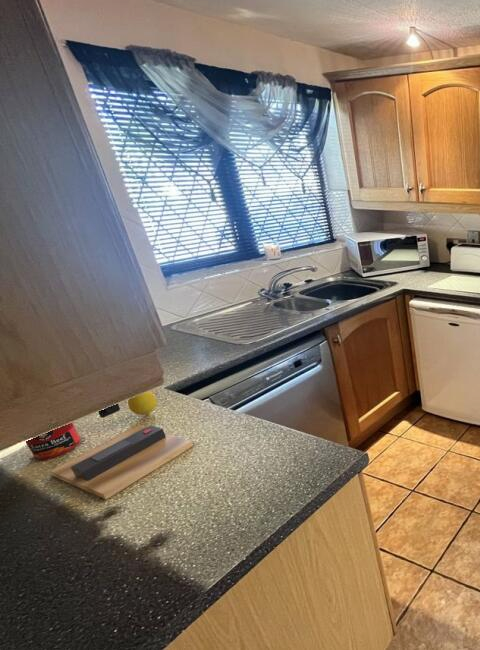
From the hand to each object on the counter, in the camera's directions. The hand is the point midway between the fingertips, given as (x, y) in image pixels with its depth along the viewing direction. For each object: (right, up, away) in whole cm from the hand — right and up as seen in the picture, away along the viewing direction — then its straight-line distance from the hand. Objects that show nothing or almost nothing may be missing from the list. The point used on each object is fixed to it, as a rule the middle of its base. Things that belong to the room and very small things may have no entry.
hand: (97, 409), depth 85 cm
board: (+1, -14, +5) cm, 15 cm away
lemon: (-10, -8, +22) cm, 25 cm away
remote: (+1, -12, +5) cm, 13 cm away
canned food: (-20, -13, +10) cm, 25 cm away
